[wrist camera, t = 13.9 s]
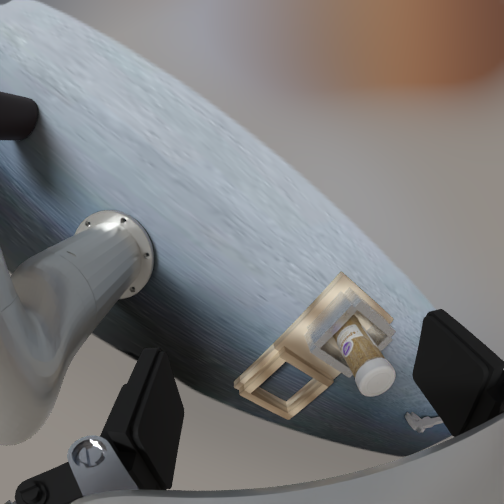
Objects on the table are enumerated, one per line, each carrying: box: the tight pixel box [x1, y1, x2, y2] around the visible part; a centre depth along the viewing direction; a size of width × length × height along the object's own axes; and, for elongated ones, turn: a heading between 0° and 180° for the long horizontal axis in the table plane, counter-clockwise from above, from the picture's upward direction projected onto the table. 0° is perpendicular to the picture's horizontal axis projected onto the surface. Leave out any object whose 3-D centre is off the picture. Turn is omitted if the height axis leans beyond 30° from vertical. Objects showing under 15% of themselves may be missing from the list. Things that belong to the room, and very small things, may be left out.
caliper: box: [405, 412, 444, 433], centre depth 50 cm, size 20×1×6 cm, turn 70°
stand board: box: [234, 271, 394, 420], centre depth 43 cm, size 24×12×3 cm, turn 140°
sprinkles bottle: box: [333, 315, 396, 397], centre depth 36 cm, size 5×5×14 cm
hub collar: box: [304, 287, 396, 378], centre depth 40 cm, size 9×9×4 cm
